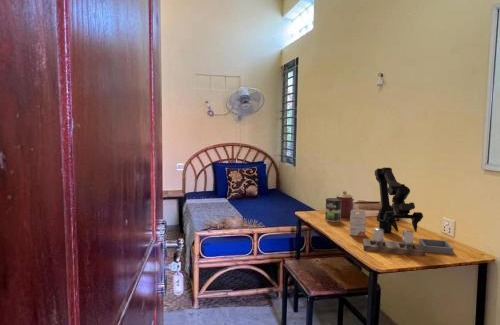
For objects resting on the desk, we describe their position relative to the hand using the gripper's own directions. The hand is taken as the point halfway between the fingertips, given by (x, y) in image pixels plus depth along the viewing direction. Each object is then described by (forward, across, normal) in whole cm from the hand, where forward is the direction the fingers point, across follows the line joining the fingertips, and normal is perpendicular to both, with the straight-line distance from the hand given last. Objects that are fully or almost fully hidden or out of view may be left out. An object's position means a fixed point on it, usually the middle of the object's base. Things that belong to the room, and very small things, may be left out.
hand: (406, 231), depth 178 cm
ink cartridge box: (-10, -18, +24) cm, 32 cm away
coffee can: (-34, -26, +48) cm, 64 cm away
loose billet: (+8, 0, +6) cm, 10 cm away
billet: (+6, -14, +8) cm, 17 cm away
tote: (+5, +16, +9) cm, 19 cm away
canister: (-43, -15, +58) cm, 74 cm away
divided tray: (+7, -7, +7) cm, 12 cm away
